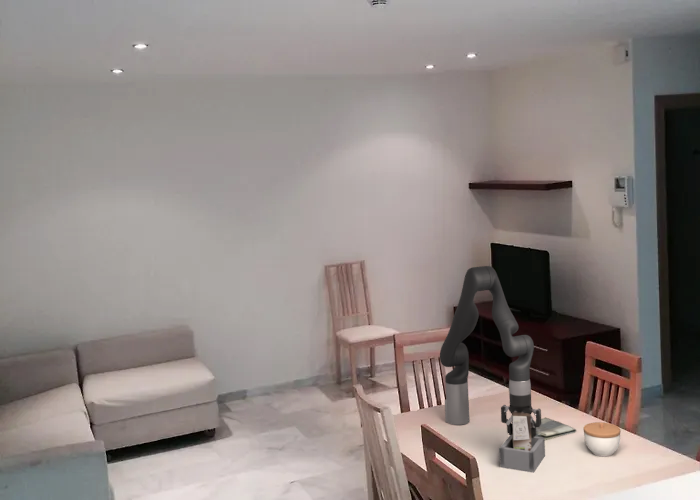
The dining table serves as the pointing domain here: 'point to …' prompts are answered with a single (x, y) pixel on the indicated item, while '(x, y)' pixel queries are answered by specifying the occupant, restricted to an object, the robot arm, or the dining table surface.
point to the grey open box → (522, 455)
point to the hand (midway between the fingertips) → (521, 435)
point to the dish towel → (553, 429)
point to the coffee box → (521, 431)
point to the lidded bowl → (602, 438)
